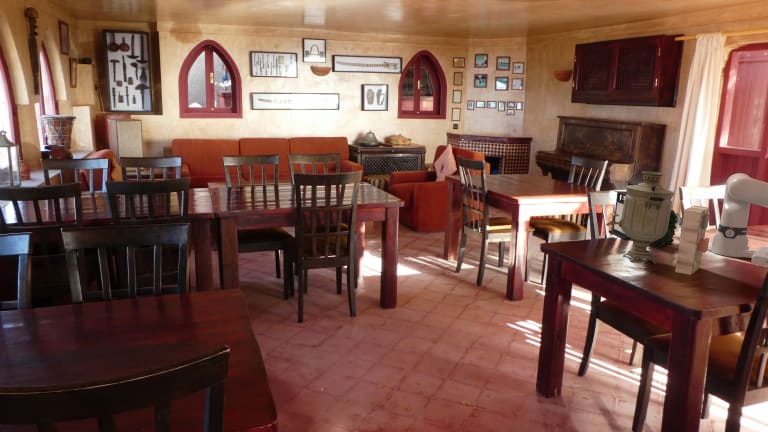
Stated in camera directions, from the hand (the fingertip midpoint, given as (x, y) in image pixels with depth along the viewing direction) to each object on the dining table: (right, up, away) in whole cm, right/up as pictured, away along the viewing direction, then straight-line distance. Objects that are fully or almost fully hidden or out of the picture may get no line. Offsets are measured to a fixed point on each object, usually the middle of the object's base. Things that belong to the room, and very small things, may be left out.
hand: (742, 252), depth 229 cm
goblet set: (+9, +4, +83) cm, 83 cm away
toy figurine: (-5, 0, +57) cm, 57 cm away
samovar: (-32, -5, +29) cm, 43 cm away
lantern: (-12, +4, +75) cm, 76 cm away
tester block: (-14, -8, +15) cm, 22 cm away
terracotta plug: (-13, 0, +12) cm, 18 cm away
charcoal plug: (-14, +10, +11) cm, 20 cm away
